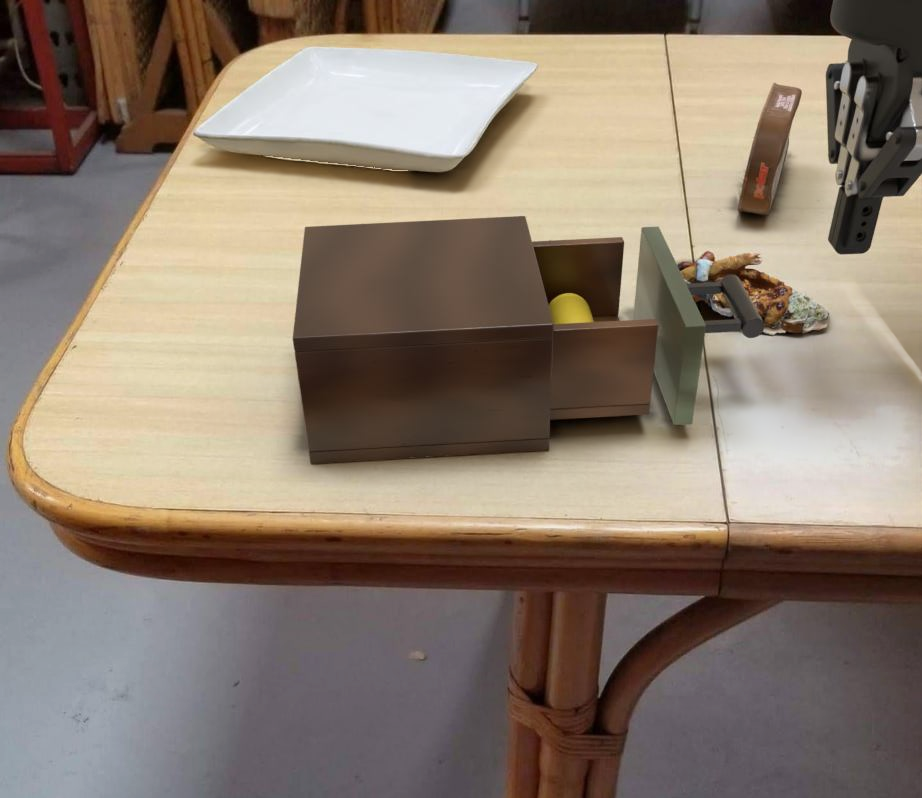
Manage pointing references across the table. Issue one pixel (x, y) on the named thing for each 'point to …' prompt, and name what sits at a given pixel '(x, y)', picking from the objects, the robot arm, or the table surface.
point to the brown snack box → (769, 150)
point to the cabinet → (422, 340)
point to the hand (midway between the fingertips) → (847, 248)
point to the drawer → (631, 328)
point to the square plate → (369, 108)
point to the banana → (570, 309)
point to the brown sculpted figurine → (757, 293)
